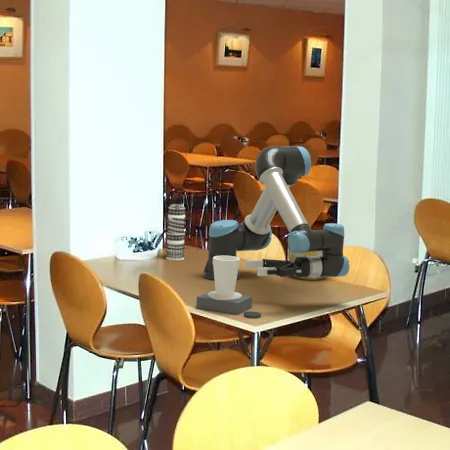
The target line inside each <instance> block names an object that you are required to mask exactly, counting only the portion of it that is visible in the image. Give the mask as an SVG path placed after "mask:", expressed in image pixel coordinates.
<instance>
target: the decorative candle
mask: <svg viewBox="0 0 450 450" xmlns="http://www.w3.org/2000/svg"><path fill="white" fill-rule="evenodd" d="M167 208H168V214H167V219H166V225H167V226H166V234H167V241H166V243H165V246H166V247H165V249H166V251H165V253H166V254H165V258H166V260H169V261H184V260H185V253H186V251H185V249H186V247H185V245H186V244H185V234H186V231H185V230H186V229H187V228H186V225H187V224H186V223H185V222H187V216H186V207H185V206H184V204H179V203H173V204H170V205H169V206H168V207H167Z"/></svg>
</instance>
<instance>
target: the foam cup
mask: <svg viewBox="0 0 450 450" xmlns="http://www.w3.org/2000/svg"><path fill="white" fill-rule="evenodd" d="M240 263H241V258H240V257H238V256H236V257H235V256H214V257H213V268H214V279H215V280H214V289H215V290H214V291H216V295H219V296H233V295H234V292H236V285H237V280H238V279H237V274H238V268H240V267H239V266H240Z"/></svg>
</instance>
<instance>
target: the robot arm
mask: <svg viewBox="0 0 450 450" xmlns="http://www.w3.org/2000/svg"><path fill="white" fill-rule="evenodd" d="M256 156H257V157H256V159H255V164H254V169H255V174H256V177H257V179H258V181H259V183H260V184H261V185H263V186H264V189H263V191H262V193H261V195H260V197H259V199H258V200H257V202H256V204H255V206H254V209H253V210H252V211H251V213H250V214H248V215H246V216H245V218H244V220H243V221H242V222H240V223H239V222H238V221H237V220H234V219H227V220H226V219H224V220H223V219H221V220H217V221H214V222H212V223H211V224H210V225H209V230H208V236H209V237H208V256H207V261H206V263H205V266H204V269H203V273H202V274H203V278H205V279H208V280H211V281H215V279H214V268H213V257H214V256H235V257H237V252H248V251H249V252H250V251H251V252H252V251H259V250H265V249H266V248H267V247H268V246H270V243H271V241H272V235H273V231H272V227H271V222H272V220H273V218H274V217H275V215H276V212H278V214H279V215H280V217H281V220H282V221H283V223H284V225H285V227H286V229H287V231H288V232H289V234H288V237H287V243H288V244H287V245H288V249H290V250H292V251H293V252H302V253H305V252H311V251H322V256H321V257H319V256H313V257H297V258H296V259H295V262H294V263H293V262H291V261H289V259H286V260H285V259H284V260H283V259H282V260H281V259H280V260H279V259H267V258H262V259H261V260H259V259H258V260H257V259H256V260H255V259H254V260H250V259H249V260H245V265H244V266H245V267H244V268H245V269H257V270H256V271H257V273H256V276H258V277H268V276H269V277H271V276H272V277H273V276H276V277H280V278H283V277H285V278H286V277H290V276H291V277H292V276H294V275H296V276H297V277H298V278H297V279H299V278H305V277H313V279H315V277H323V278H340V277H345V276H347V275H348V274H349V273H350V272H349V271H350V261H349V259H348V257H347V256H345V255H344V243H345V242H344V241H345V226H344V225H343V224H340V223H334V222H332V223H331V222H330V223H324V225H323V228H322V229H317V230H316V229H315V230H314V229H313V230H312V228H311V227H310V225H309V223H308V221H307V220H306V218H305V216H304V214H303V212H302V210H301V208H300V206H299V205H298V202H297V200H296V199H295V197H294V195H293V193H292V191H291V190H290V187H291V186H294V185H296V184H297V182H298V181H299V179H300V178H301V177H306V176H307V175H309V173H310V172H311V168H312V159H311V155H310V153H309V151H308V150H307V149H306V148H305V147H304V146H299V145H298V146H297V145H269V146H267V147H264V148H263V149H261V151H260V152H259V153H258V155H256ZM239 268H240V267H239ZM239 268H238V274H237V280H239V279H241V277H240V276H241V275H240V273H241V272H240V269H239Z"/></svg>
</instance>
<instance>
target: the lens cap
mask: <svg viewBox="0 0 450 450" xmlns="http://www.w3.org/2000/svg"><path fill="white" fill-rule="evenodd" d="M243 317H244V318H247V319H260V318H262V313H261V312H259V311H251V310H250V311H249V310H247V311H244V312H243Z"/></svg>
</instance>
